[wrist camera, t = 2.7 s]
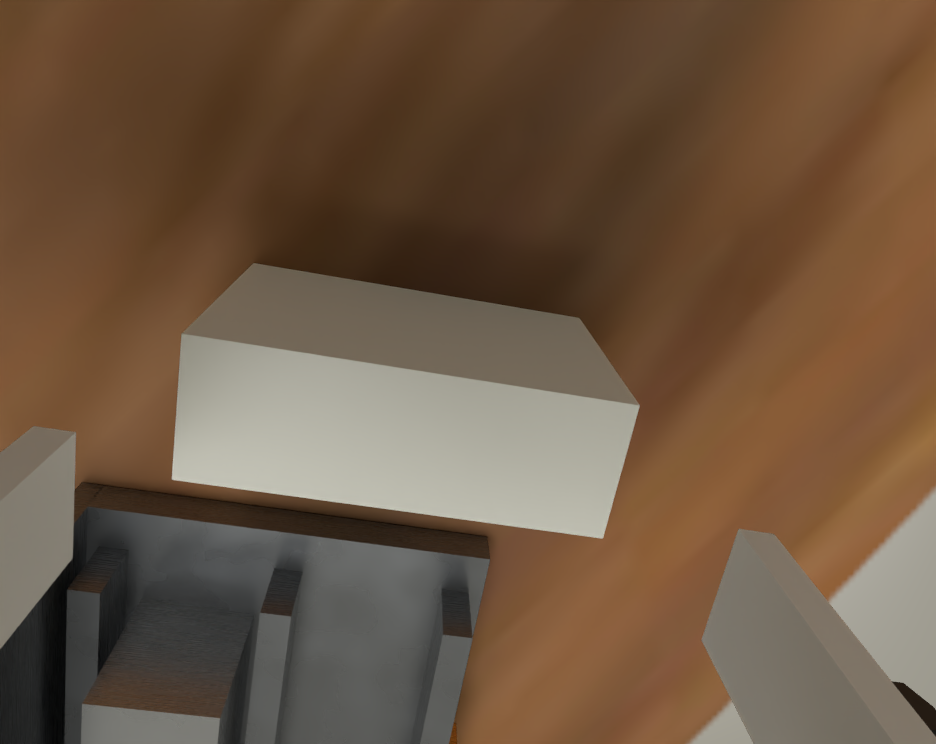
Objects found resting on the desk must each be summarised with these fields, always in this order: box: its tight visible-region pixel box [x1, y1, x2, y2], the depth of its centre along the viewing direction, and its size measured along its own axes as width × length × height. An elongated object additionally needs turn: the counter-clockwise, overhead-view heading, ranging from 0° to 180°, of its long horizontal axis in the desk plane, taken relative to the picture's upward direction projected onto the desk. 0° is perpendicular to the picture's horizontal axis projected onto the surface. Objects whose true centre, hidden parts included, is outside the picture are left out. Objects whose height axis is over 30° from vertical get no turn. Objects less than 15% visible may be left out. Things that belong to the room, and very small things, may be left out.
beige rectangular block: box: [172, 263, 640, 538], centre depth 23 cm, size 11×4×8 cm, turn 79°
